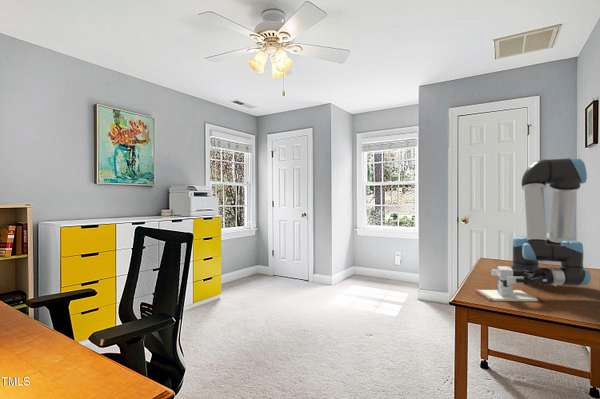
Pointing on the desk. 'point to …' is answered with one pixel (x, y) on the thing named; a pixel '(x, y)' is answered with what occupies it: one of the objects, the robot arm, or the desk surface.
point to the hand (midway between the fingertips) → (499, 276)
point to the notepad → (495, 296)
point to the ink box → (505, 281)
